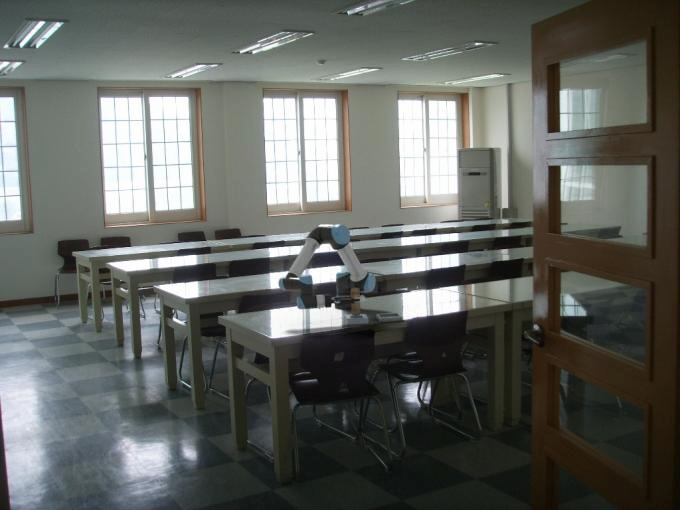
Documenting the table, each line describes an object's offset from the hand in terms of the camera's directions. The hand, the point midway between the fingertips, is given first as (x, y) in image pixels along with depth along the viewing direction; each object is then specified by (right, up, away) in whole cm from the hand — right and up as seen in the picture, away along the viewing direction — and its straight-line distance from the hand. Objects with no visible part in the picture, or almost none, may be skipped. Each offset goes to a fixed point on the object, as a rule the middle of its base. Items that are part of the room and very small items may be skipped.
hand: (364, 298), depth 428 cm
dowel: (-5, -9, +1) cm, 10 cm away
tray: (+14, -12, +3) cm, 19 cm away
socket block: (-5, -13, +1) cm, 14 cm away
